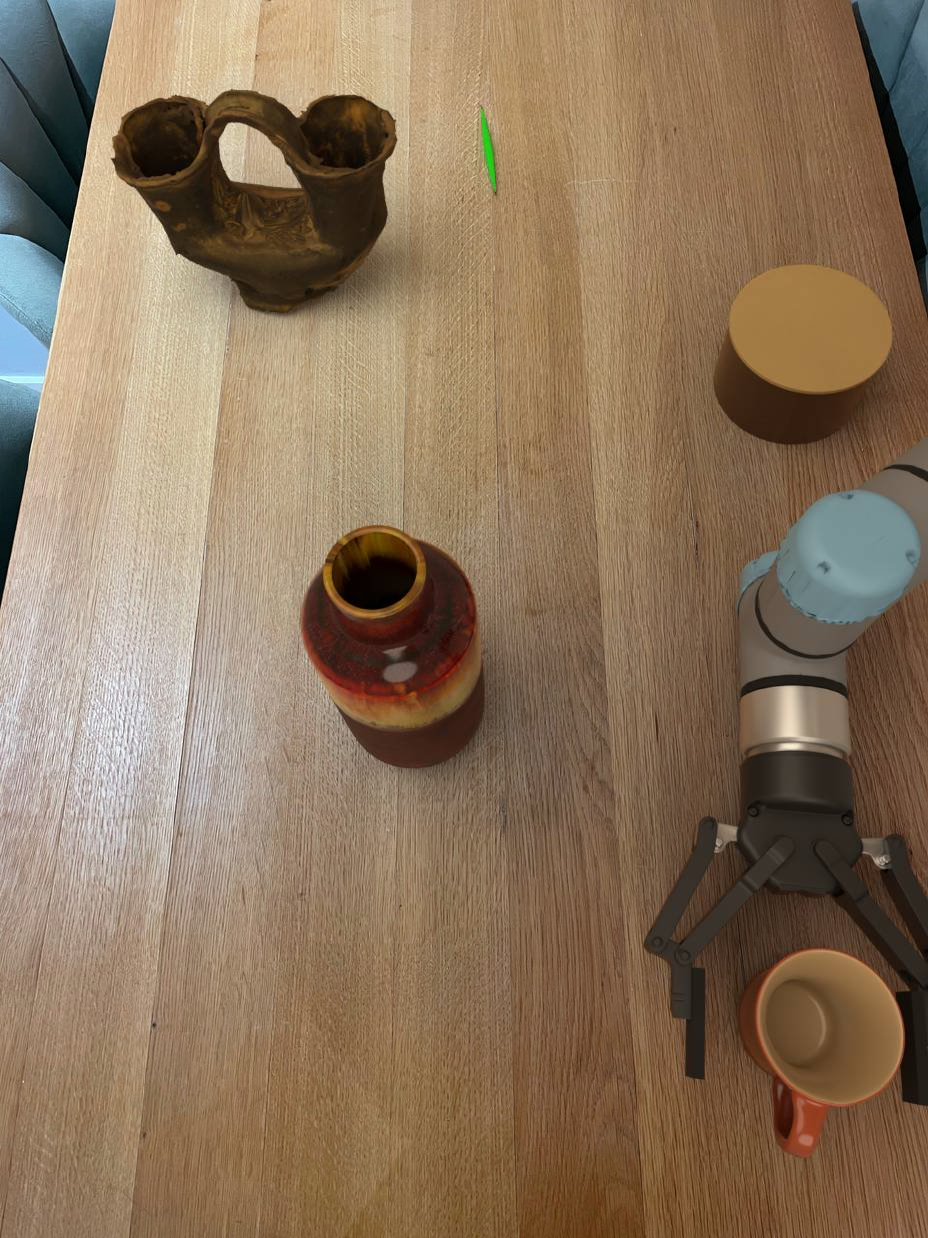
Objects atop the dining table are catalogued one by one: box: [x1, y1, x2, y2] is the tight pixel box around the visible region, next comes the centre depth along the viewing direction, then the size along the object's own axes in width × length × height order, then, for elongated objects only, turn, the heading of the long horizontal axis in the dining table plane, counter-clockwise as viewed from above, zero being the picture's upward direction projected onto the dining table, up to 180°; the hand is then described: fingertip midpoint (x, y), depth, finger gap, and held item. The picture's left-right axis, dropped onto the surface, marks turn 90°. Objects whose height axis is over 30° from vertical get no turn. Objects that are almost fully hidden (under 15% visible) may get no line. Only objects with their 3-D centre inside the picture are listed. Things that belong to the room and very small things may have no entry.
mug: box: [736, 946, 905, 1159], centre depth 61 cm, size 12×9×10 cm
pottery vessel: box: [110, 88, 398, 315], centre depth 85 cm, size 25×11×20 cm, turn 87°
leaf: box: [480, 105, 497, 196], centre depth 99 cm, size 1×14×1 cm, turn 6°
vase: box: [299, 524, 486, 770], centre depth 64 cm, size 11×11×26 cm
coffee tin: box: [713, 263, 893, 445], centre depth 83 cm, size 13×13×8 cm
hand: (804, 1091), depth 59 cm, fingers open, 13 cm apart
